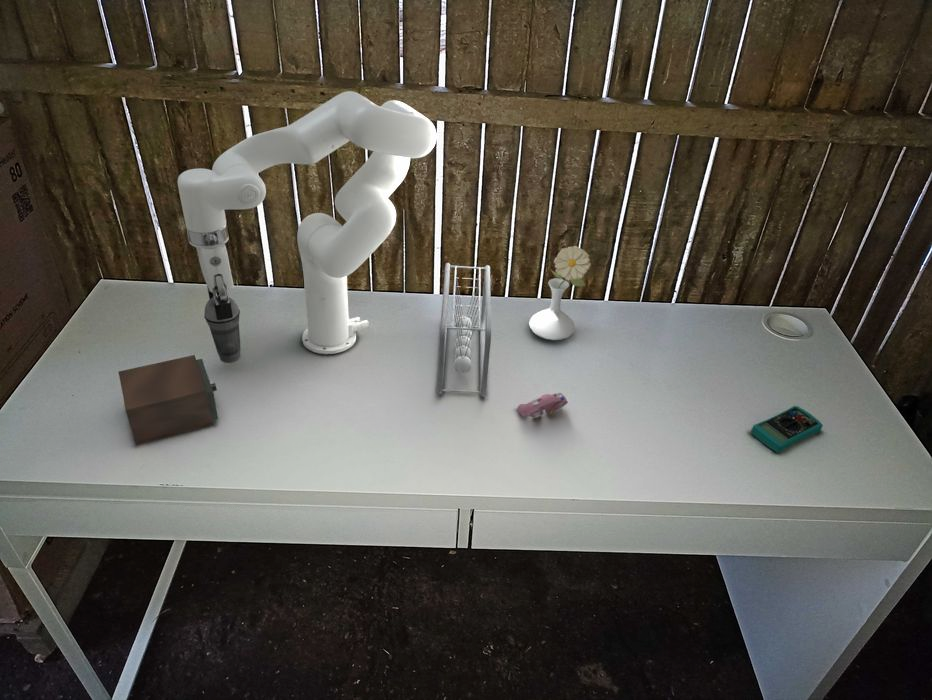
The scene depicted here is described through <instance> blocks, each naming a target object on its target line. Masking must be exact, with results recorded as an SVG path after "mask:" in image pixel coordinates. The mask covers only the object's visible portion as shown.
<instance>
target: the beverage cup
mask: <svg viewBox="0 0 932 700" xmlns="http://www.w3.org/2000/svg"><path fill="white" fill-rule="evenodd" d="M214 289H215V288H214ZM218 296H219V295H217V298H218ZM229 300H230V302H231V308H232V314H233V317H232V318H228V319H223V320H217V318H216V313H215V307H214V303H215V300H214V297H212V298H211V299H208V301H207V302H206V303H205V305H204V313H203V314H204V315H203V317H204V319H205V321H206V323H207V325H208V327H209V328H208V329H209V330H210V333H211V336H212V340H213V343H214V347H215V349H216V353H217V355H218V357H219V360H220V362H221V363H224V364H232V363H236V362H238V361H239V360H241V357H242V354H241V352H242V351H241V350H242V349H241V335H240V333H241V332H240V315H241V310H240V309H239V306H238V304H237V303H236V301H235V300H234V298H232V297H230V296H229Z"/></svg>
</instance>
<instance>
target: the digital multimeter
mask: <svg viewBox="0 0 932 700" xmlns="http://www.w3.org/2000/svg"><path fill="white" fill-rule="evenodd" d="M823 426H824V424H823V423H822V422H821V421H820V420H819V419H818V418H817V417H815V416H813V414H811V413H810V412H808V411H807V410H805V409H804V408H802V407H800V406H798V405H793V406H792V407H790V408H788V409H786V410H784V411H782V412H780V413H778V414H776V415H774V416H772V417H770V418H768V419H765V420H763V421H760V422H758V423H756V424H755V423H754V424H753V426H752V428H751V430H750V433H751V434H752V435H753V436H754V437H755V438H757V439H758V440H759V441H760V442H761V443H763V444H764V445H765V446H767V447H768V448H770V449H771V450H772V451H774V452H775V453H777V454H779V453H781V452H783V451H784V450H787V449H788V448H790V447H791V446H793V445H795V444H796V443H798V442H801V441H803V440H804V439H807V438H809V437H811V436H814V435H816V434H818V433H820V432H821V431H822V428H823Z"/></svg>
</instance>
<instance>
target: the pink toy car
mask: <svg viewBox="0 0 932 700" xmlns="http://www.w3.org/2000/svg"><path fill="white" fill-rule="evenodd" d="M568 403H569V402H568V400H567V397H566V396H565V395H564V394H563V393H562V392H557V393H545V394H543V395H541V396H540V397H538V398H536V399H533V400H531V401H529V402H527V403H521V404H519V405H518V406H517V412H518V414H519V415H520V416H522V417H524V418H525V417H529V418H534V419H536V418H539V417H541V416H543V414H544V411H545V414H546V415H549V414H550V415H551V414H554V412H555V411H557V410H559V409H561V408H563V407H564V406H566V405H567V404H568Z"/></svg>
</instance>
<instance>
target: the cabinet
mask: <svg viewBox="0 0 932 700" xmlns="http://www.w3.org/2000/svg"><path fill="white" fill-rule="evenodd" d="M197 360H198V359H197V357H196V355H195V354H193V355H188V356H183V357H179V358H174V359H170V360H165V361H161V362H155V363H151V364H147V365H142V366H141V365H140V366H136V367H132V368H128V369H124V370H119V371H118V377H119V383H120V388H121V393H122V399H123V403H124V409H125V413H126V417H127V420H128V423H129V427H130V430H131V433H132V436H133V440H134V444H135V446H139V445H142V444H146V443H150V442H153V441H157V440H161V439H162V440H163V439H166V438H170V437H173V436H178V435H181V434H185V433H189V432H193V431H197V430H200V429H205V428H208V427H213V426H214V420H212V415H211V411H210V406H209V401H208V396H207V391H206V388H205V385H204V382H203V379H202V376H201V372H200V369H199V366H198V363H197Z"/></svg>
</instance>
